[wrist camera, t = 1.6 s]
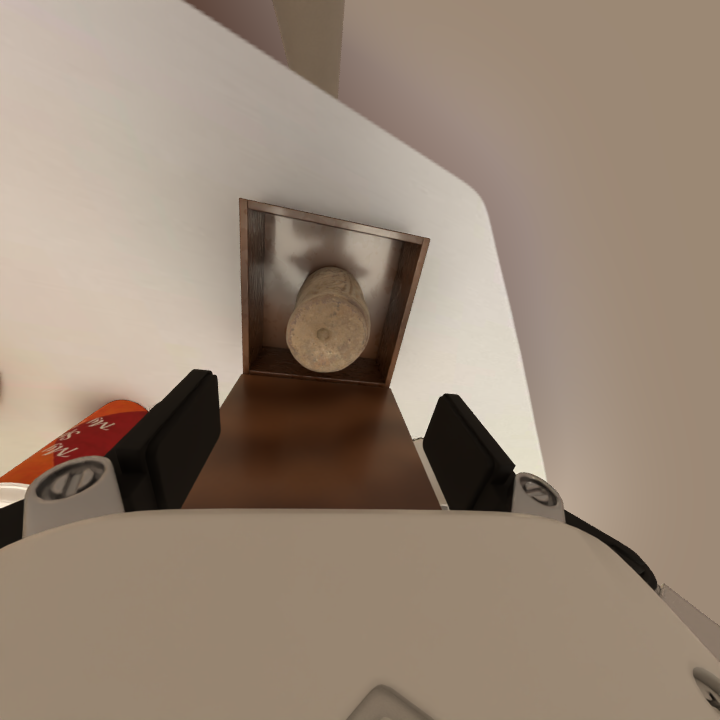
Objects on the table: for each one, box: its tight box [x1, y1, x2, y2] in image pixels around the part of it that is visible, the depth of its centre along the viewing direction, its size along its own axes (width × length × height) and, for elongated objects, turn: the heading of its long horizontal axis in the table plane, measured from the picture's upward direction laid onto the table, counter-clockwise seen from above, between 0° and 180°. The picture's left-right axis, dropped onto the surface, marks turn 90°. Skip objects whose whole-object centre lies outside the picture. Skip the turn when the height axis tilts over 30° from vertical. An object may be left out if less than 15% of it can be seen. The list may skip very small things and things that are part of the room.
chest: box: [239, 198, 430, 388], centre depth 26 cm, size 15×15×7 cm
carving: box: [286, 267, 371, 373], centre depth 23 cm, size 6×8×12 cm
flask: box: [413, 439, 450, 510], centre depth 38 cm, size 7×7×10 cm
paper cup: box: [0, 400, 148, 508], centre depth 27 cm, size 8×8×14 cm
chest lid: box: [181, 374, 442, 510], centre depth 19 cm, size 16×15×1 cm
